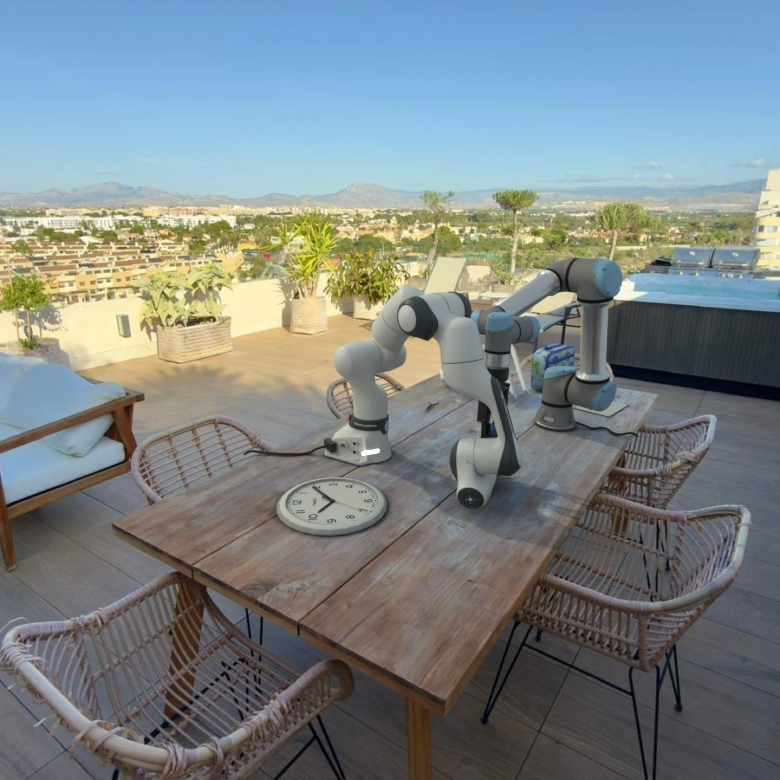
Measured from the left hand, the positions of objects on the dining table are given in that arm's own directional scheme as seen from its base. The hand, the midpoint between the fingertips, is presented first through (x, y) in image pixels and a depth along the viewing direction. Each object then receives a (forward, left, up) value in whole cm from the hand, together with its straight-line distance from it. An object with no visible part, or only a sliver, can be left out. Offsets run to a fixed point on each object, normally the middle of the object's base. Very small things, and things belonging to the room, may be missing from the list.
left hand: (489, 454), depth 161 cm
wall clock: (-36, -36, -6) cm, 51 cm away
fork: (-33, +54, -6) cm, 64 cm away
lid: (0, -1, +9) cm, 9 cm away
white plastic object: (-18, +82, -6) cm, 85 cm away
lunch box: (+13, +103, -6) cm, 104 cm away
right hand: (0, -1, +5) cm, 5 cm away
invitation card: (+35, +82, -6) cm, 90 cm away
